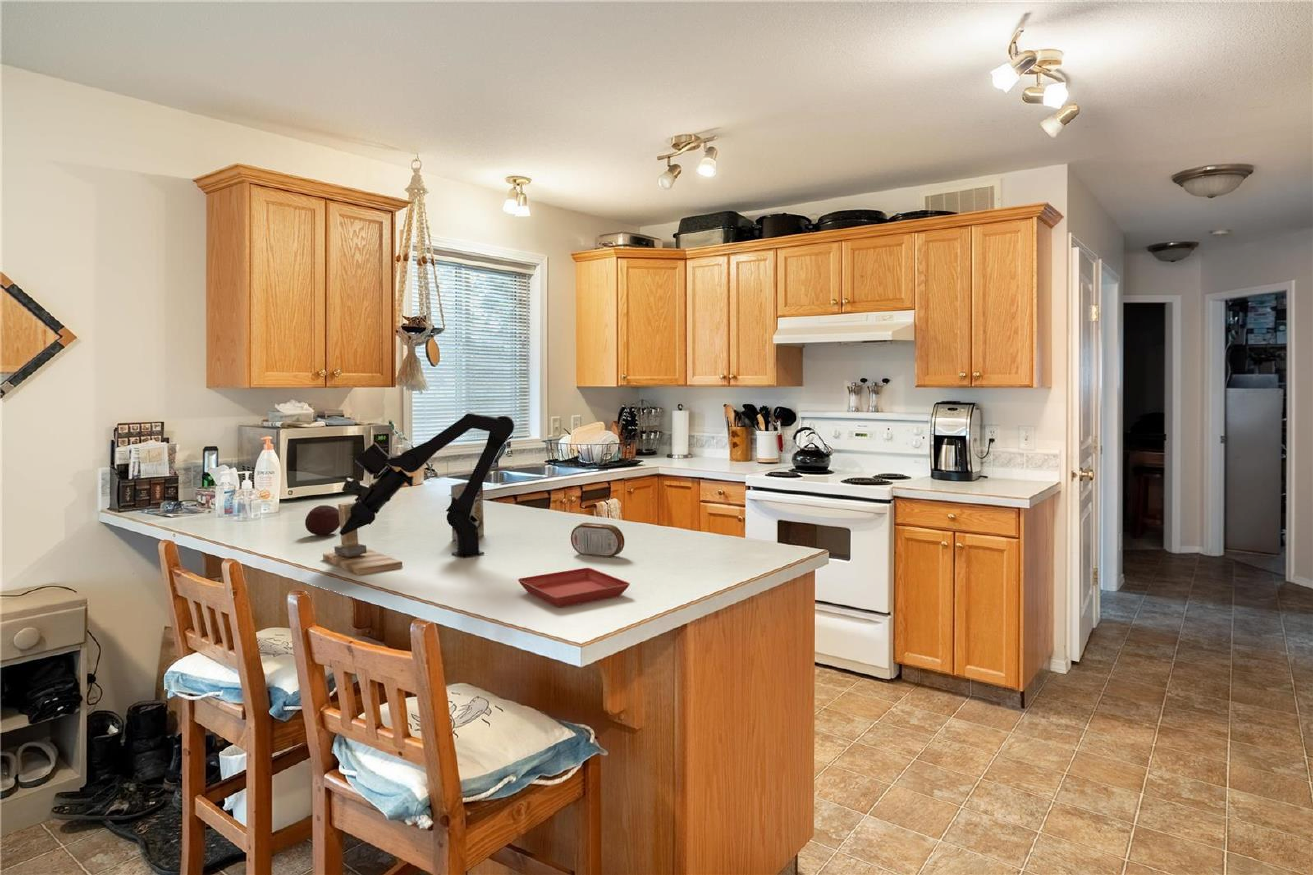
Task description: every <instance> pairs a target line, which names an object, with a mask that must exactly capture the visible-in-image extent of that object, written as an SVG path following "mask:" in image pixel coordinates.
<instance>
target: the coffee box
mask: <svg viewBox="0 0 1313 875" xmlns="http://www.w3.org/2000/svg"><path fill="white" fill-rule="evenodd" d="M467 483H468V482H460V483H457V484H453V485H450V492H451V494H450V498H451V499H450V500H451V501H452V498H453V497H454V495H455V494H456V495H457V496H459V497H460V495H461V494H462V493H463V491H464V489H465V487H466V485H467ZM483 484H484V483H483ZM483 484H482V486H481V488H480V490H479V492H478V494H477V496H476V499H475V503H474V507H473V510H472V515H473V516H474V517H475V518H476V519H477V520H479V525H478V528H477V529H476V530H478V534H479V538H480V537H482V536H484V534H485V524H484V492H483V491H484V488H483V486H484V485H483ZM451 501H450V502H451ZM451 540H453V541H456V531H455V529H454V527H452V526H451Z"/></svg>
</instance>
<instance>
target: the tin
mask: <svg viewBox="0 0 1313 875" xmlns="http://www.w3.org/2000/svg"><path fill="white" fill-rule="evenodd" d="M570 542H571V543H570V544H571V546H572V547H573V549H574V550H575V552H577V553H578V554H579V555H583V556H590V557H591V556H593V557H601V558H602V557H603V558H612V557H615V556H617V555H619V554H620V553H622V551H624V550H623V549H624V547H625V536H624V535H623V532H622V530H621V529H619V527H617V526H616V525H613V524H605V523H597V522H596V523H594V522H583V523H580V524H578V525H577V526H575V527H574V528H573V530H572V531H571V534H570Z"/></svg>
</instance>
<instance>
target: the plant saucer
mask: <svg viewBox="0 0 1313 875" xmlns="http://www.w3.org/2000/svg"><path fill="white" fill-rule="evenodd" d="M517 581H518V582H519V584H520V585H521V586H522V588H523V589H524V590H526V591H527V593H529V594H530V595H532V596H534V597H536V598H538V599H540V600H542V601H544V602H546V603H548V604H551V606H554V607H557V608H565V607H571V606H574V605H575V606H576V605H580V604H585V603H589V602H590V603H591V602H595V601H600V600H606V599H612V598H616V597H617V598H618V597H620V596H621V595H622V594H623V593H624V592H625V591H626V590H627V589H628V588H629V587H630V585H631V584H630V582H628V581H625V580H622V579H620V578H618V577H616V576H612V575H610V574H606V573H604V572H602V571H599V570H597V569H593V568H591V567H582V568H576V569H571V570H565V571H558V572H552V573H546V574H545V573H544V574H540V575H539V574H538V575H532V576H526V577H520V578H517Z"/></svg>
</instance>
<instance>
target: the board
mask: <svg viewBox="0 0 1313 875" xmlns="http://www.w3.org/2000/svg"><path fill="white" fill-rule="evenodd" d="M366 550H367V553H365V554H360V555H356V556H351V557H345V556H341V555H337V554H335V551H332V552H325V553H322V560H323V559H324V560H323V561H325V560H326V562H328V563H330V564H332V563H333V564H332V565H334V564H335V566H337V567H339V568H342V569H343V570H345V571H348V572H350V573H352V574H355V575H356V576H361V575H368V574H372V573H373V574H375V573H379V572H386V571H390V570H396V569H402V568H403V561H401V560H399V559H396V558H393V557H390V556H388V555H385V554H382V553H380V552H377V551H375V550H372V549H369V548H367V547H366Z"/></svg>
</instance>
